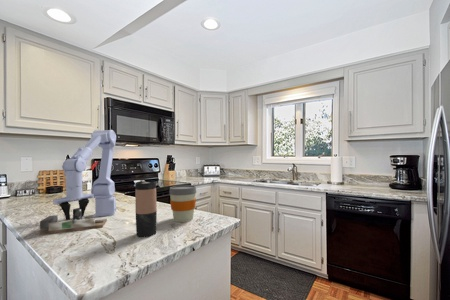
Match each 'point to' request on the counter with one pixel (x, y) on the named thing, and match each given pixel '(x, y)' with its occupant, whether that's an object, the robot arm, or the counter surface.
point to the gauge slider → (77, 214)
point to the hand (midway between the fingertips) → (74, 218)
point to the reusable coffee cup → (183, 202)
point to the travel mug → (145, 208)
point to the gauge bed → (68, 224)
